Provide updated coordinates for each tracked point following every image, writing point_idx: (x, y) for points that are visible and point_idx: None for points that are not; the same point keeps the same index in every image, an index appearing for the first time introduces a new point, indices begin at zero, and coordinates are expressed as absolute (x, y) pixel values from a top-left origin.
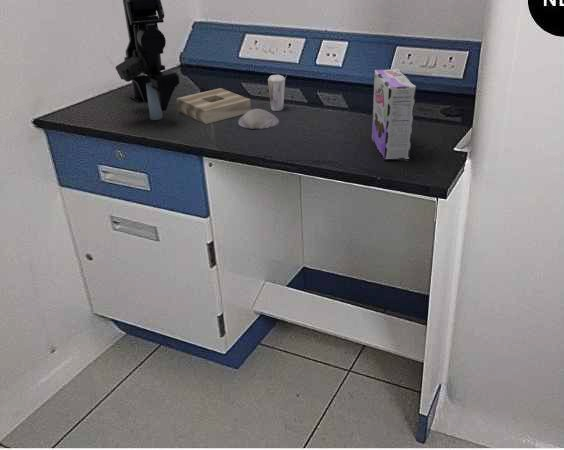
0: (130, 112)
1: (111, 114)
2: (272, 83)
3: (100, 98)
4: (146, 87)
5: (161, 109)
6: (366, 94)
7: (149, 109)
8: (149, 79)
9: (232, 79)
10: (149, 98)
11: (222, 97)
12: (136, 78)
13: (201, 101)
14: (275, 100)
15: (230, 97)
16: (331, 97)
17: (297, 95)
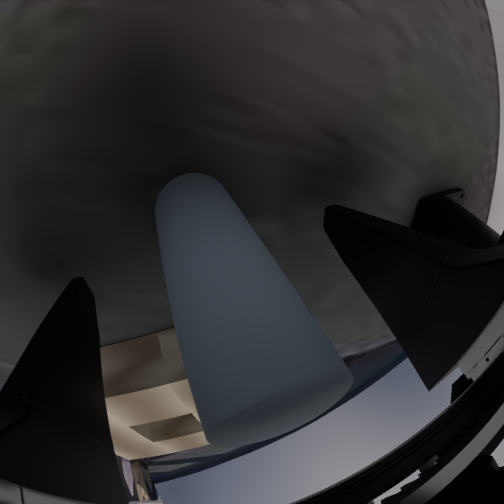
0: (363, 115)
1: (391, 35)
2: (128, 500)
3: (494, 118)
4: (285, 348)
5: (73, 282)
6: (158, 477)
7: (200, 200)
8: (419, 352)
9: (353, 388)
10: (203, 266)
11: (172, 439)
12: (493, 293)
13: (153, 414)
14: (120, 467)
15: (162, 446)
16: (163, 468)
17: (195, 455)
